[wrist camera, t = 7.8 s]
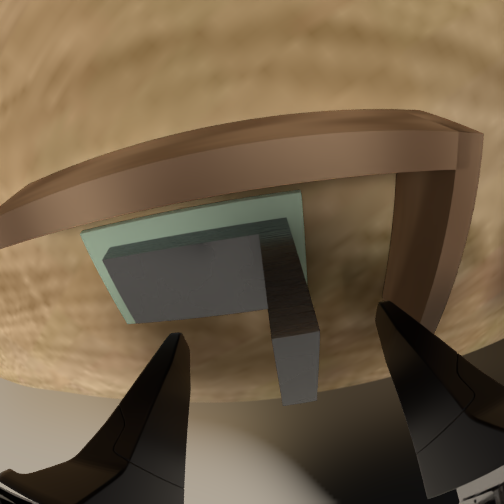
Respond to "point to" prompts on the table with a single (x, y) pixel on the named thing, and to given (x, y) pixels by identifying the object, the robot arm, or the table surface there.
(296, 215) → the mat
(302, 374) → the angle bracket
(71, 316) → the table surface
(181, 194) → the corner walls
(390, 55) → the table surface
